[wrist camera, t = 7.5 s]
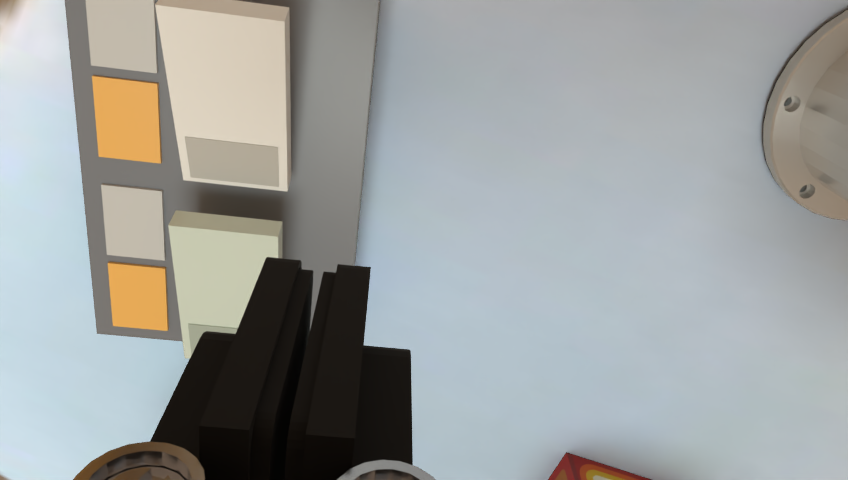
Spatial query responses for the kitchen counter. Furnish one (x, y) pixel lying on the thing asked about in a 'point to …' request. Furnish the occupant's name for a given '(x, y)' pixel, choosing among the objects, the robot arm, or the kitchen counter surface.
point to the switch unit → (167, 191)
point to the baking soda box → (589, 470)
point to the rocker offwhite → (229, 90)
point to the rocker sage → (217, 268)
